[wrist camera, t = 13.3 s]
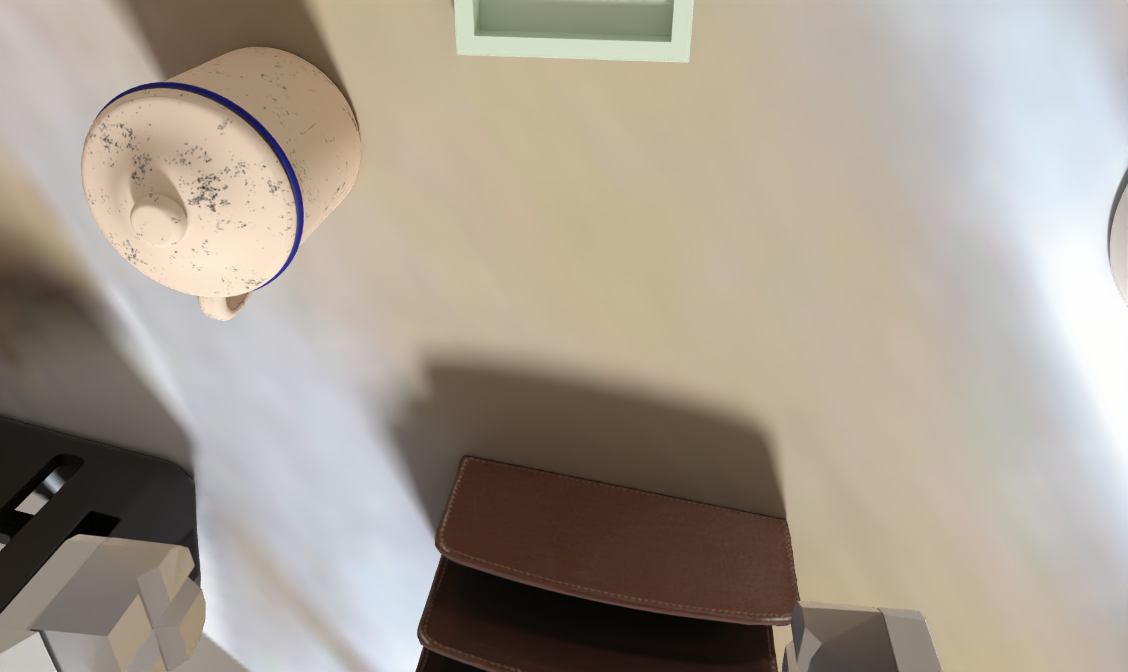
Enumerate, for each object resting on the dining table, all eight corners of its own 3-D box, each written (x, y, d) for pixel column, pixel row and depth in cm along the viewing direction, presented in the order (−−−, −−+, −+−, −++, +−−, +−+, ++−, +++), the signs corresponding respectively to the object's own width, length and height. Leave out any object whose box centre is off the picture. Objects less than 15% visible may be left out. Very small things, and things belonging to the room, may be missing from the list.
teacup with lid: (187, 17, 39) (19, 75, 29) (378, 66, 39) (275, 141, 29) (189, 246, 45) (51, 359, 35) (354, 288, 45) (263, 412, 35)
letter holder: (744, 627, 55) (763, 847, 43) (448, 567, 55) (384, 768, 43) (789, 516, 50) (826, 729, 38) (463, 450, 50) (395, 641, 38)
